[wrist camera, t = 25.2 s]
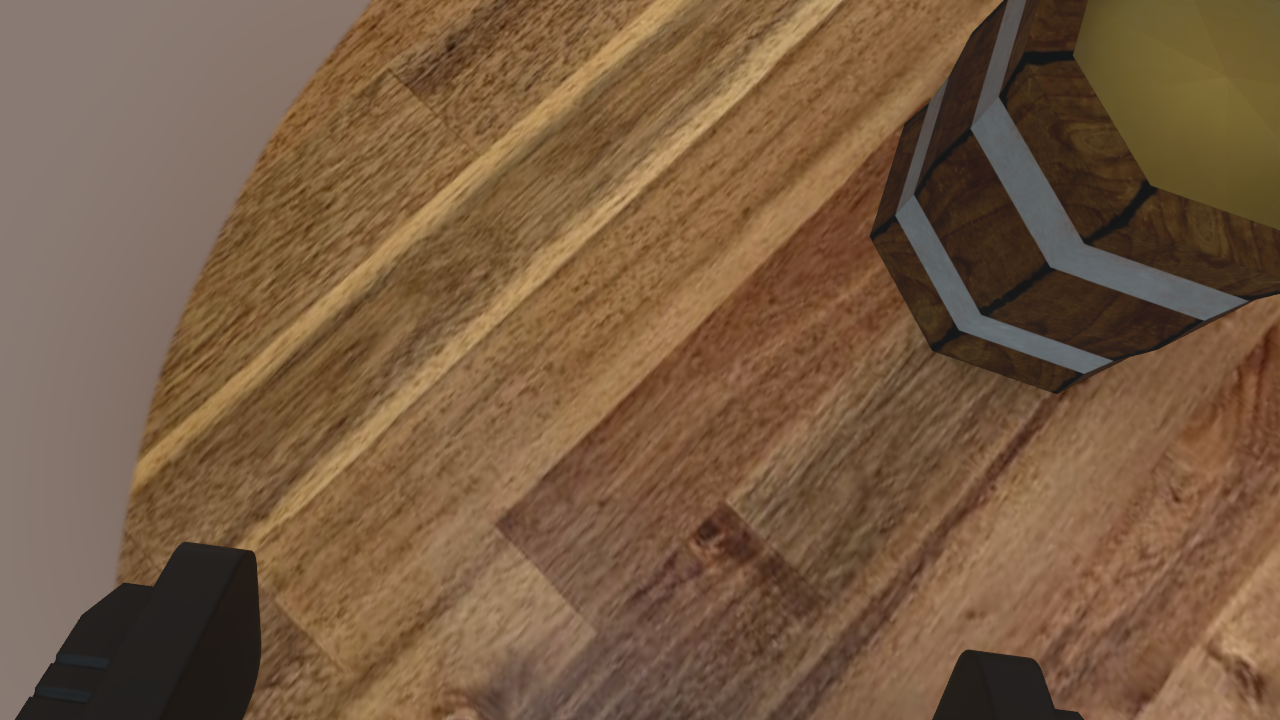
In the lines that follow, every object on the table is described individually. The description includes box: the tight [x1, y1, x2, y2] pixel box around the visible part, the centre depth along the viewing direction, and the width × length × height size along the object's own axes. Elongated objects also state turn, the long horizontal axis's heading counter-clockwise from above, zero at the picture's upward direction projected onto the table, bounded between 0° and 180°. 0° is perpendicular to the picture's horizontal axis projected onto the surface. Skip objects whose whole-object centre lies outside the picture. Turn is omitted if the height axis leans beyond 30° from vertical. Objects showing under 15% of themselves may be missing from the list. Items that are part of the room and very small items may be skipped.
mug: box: [870, 0, 1280, 394], centre depth 38 cm, size 20×14×15 cm
